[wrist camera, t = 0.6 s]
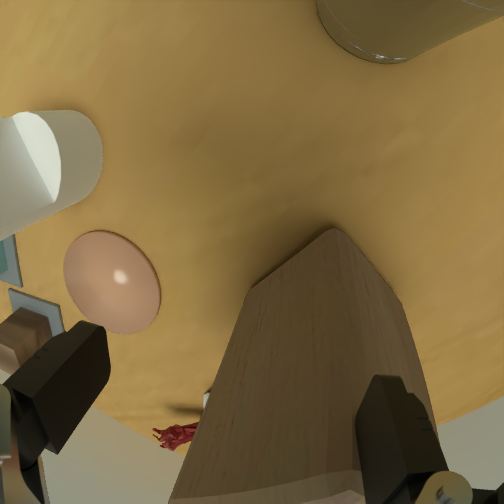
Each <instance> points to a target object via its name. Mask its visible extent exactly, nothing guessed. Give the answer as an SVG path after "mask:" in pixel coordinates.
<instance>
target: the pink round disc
mask: <svg viewBox="0 0 504 504" xmlns="http://www.w3.org/2000/svg"><path fill="white" fill-rule="evenodd" d="M64 278H65V283H66V286H67V289H68V292H69V294H70V296H71V298H72V300H73V302H74V303H75V305H76V306H77V307H78V309H79V310H80V311H81V312H82V313H83V314H84V315H85V316H86V317H87V318H88V319H89V320H90V321H91V322H93V323H94V324H97V325H100V326H103V327H104V328H105V330H107V331H110V332H113V333H117V334H133V333H137V332H140V331H142V330H143V329H145V328H146V327H148V326H149V325H150V324H151V322H152V321H153V320H154V318H155V316H156V315H157V313H158V310H159V307H160V303H161V289H160V284H159V280H158V277H157V274H156V272H155V270H154V268H153V266H152V264H151V263H150V261H149V260H148V258H147V257H146V256H145V254H144V253H143V252H142V251H141V250H140V249H139V248H138V247H137V246H136V245H135V244H133V243H132V242H131V241H129V240H128V239H126V238H124V237H122V236H121V235H118V234H116V233H113V232H109V231H92V232H89V233H86V234H84V235H82V236H81V237H79V238H78V239H76V240H75V241H74V242H73V243H72V244H71V246H70V247H69V249H68V251H67V253H66V256H65V260H64Z"/></svg>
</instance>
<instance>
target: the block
mask: <svg viewBox="0 0 504 504" xmlns="http://www.w3.org/2000/svg"><path fill="white" fill-rule="evenodd" d="M376 374H378V375H395V376H400V377H401V378H402V380H403V383H404V385H405V388H406V390H407V393H414V394H415V395H416V397H417V398H418V399H419V400H420V401H421V402H422V403H423V404H424V406H425V409H426V411H427V413H428V416H429V420H430V421H431V423H432V426H433V431H435V434H436V436H437V439H438V442H439V438H438V433H437V428H436V423H435V419H434V414H433V410H432V406H431V402H430V397H429V393H428V390H427V386H426V382H425V378H424V374H423V371H422V367H421V364H420V360H419V357H418V353H417V350H416V347H415V343H414V340H413V337H412V334H411V330H410V327H409V324H408V321H407V318H406V315H405V312H404V309H403V306H402V303H401V302H400V300H399V299H398V298H397V296H396V295H395V294H394V293H393V291H392V290H391V289H390V287H389V286H388V285H387V284H386V282H385V281H384V280H383V279H382V277H381V276H380V275H379V274H378V272H377V271H376V270H375V269H374V267H373V266H372V265H371V264H370V262H369V261H368V260H367V259H366V258H365V256H364V255H363V254H362V253H361V252H360V250H359V249H358V248H357V247H356V246H355V244H354V243H353V242H352V241H351V240H350V238H349V237H348V236H347V235H346V234H345V233H344V232H342V231H340V230H338V229H336V228H333V229H330V230H328V231H325V232H324V233H323V234H321V235H320V236H319V237H318V238H316V239H315V240H314V241H312V242H311V243H310V244H309V245H307V246H306V247H305V248H304V249H302V250H301V251H300V252H298V253H297V254H296V255H294V256H293V257H292V258H291V259H289V260H288V261H287V262H285V263H284V264H283V265H282V266H280V267H279V268H278V269H276V270H275V271H274V272H272V273H271V274H270V275H269V276H267V277H266V278H265V279H263V280H262V281H261V282H259V283H258V284H257V285H255V286H254V287H253V288H251V289H250V290H249V291H248V293H247V295H246V297H245V300H244V303H243V306H242V308H241V311H240V314H239V316H238V319H237V322H236V325H235V327H234V330H233V333H232V335H231V338H230V341H229V343H228V346H227V349H226V351H225V354H224V357H223V359H222V362H221V365H220V367H219V370H218V373H217V375H216V378H215V381H214V383H213V386H212V389H211V391H210V394H209V397H208V399H207V402H206V405H205V407H204V410H203V413H202V415H201V418H200V420H199V423H198V426H197V428H196V431H195V434H194V436H193V439H192V442H191V444H190V447H189V449H188V452H187V455H186V457H185V460H184V462H183V465H182V468H181V470H180V473H179V475H178V478H177V481H176V483H175V486H174V488H173V491H172V494H171V496H170V499H169V502H168V504H366V503H365V495H364V487H363V480H362V472H361V465H360V459H359V452H358V445H357V439H356V430H355V419H356V414H357V411H358V409H359V407H360V404H361V402H362V400H363V398H364V396H365V393H366V391H367V389H368V387H369V384H370V382H371V380H372V378H373V376H374V375H376ZM439 444H440V443H439Z"/></svg>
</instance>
